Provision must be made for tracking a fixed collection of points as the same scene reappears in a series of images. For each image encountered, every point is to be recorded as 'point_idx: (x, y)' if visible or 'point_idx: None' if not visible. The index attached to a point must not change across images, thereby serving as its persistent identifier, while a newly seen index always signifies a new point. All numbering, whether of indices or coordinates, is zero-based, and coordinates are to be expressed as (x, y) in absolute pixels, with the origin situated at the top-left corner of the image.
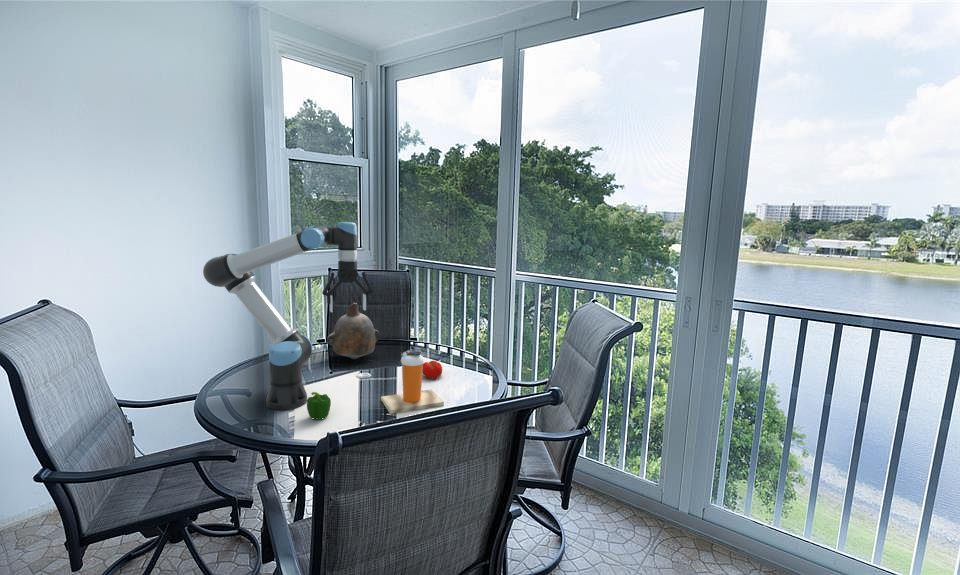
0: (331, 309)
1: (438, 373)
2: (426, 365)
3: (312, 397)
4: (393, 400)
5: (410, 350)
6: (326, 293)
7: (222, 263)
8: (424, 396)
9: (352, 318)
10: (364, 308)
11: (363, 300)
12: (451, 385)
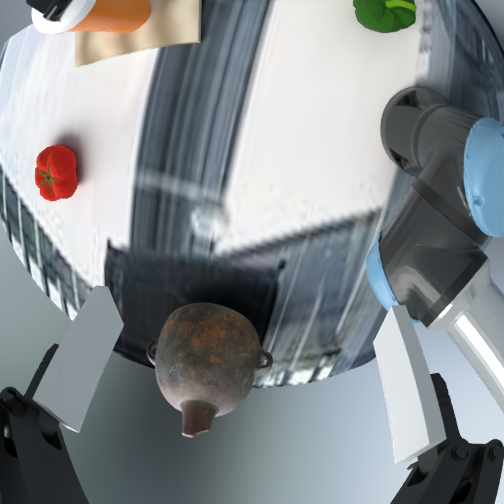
0: (407, 324)
1: (47, 147)
2: (56, 168)
3: (406, 12)
4: (174, 11)
5: (43, 14)
6: (472, 463)
7: None
8: None
9: (202, 396)
10: (99, 298)
11: (85, 373)
12: (41, 104)
